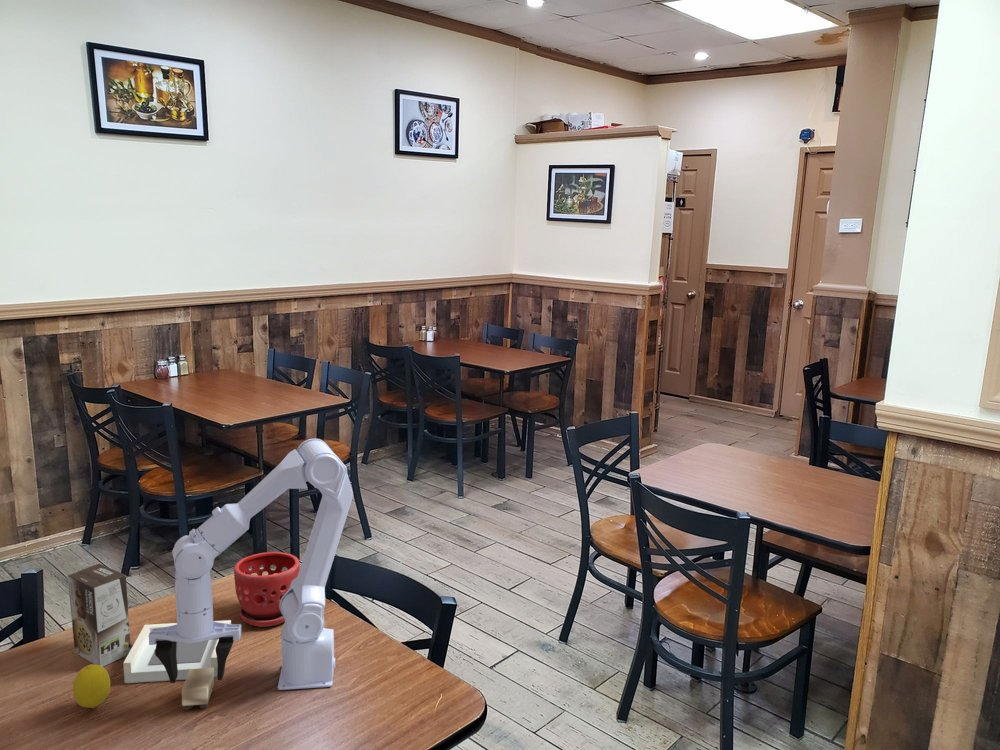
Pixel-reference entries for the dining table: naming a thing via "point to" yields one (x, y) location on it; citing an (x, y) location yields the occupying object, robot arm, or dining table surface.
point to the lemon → (91, 686)
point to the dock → (149, 668)
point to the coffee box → (99, 614)
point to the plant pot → (264, 586)
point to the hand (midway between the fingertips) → (197, 678)
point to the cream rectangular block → (198, 687)
